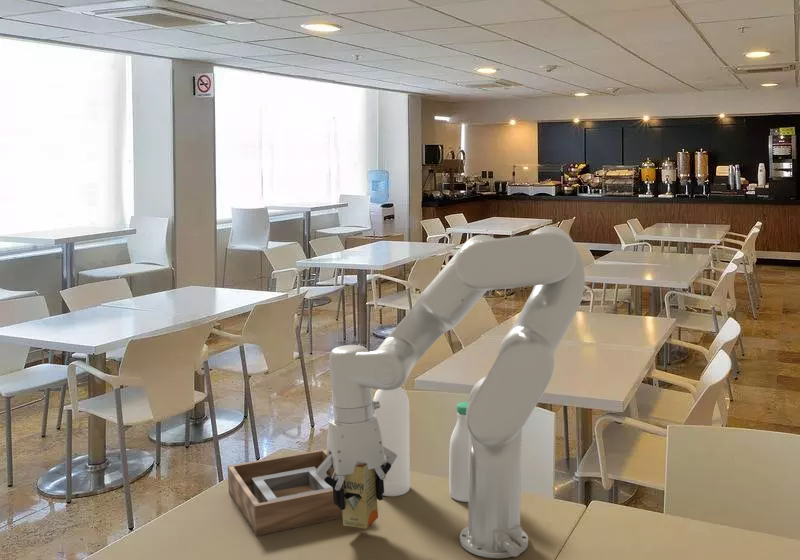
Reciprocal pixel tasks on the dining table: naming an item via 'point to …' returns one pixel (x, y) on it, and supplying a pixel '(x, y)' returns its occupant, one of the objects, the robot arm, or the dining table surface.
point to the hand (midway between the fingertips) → (359, 501)
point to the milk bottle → (459, 457)
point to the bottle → (395, 438)
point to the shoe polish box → (360, 498)
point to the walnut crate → (283, 492)
